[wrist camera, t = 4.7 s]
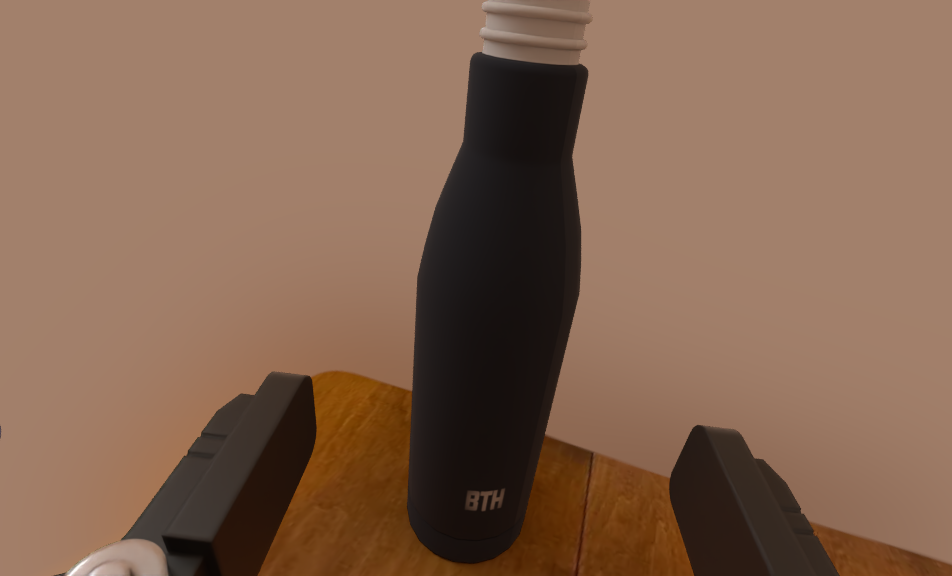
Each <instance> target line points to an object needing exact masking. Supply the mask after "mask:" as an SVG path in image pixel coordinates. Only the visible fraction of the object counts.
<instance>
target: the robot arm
mask: <svg viewBox="0 0 952 576" xmlns="http://www.w3.org/2000/svg"><path fill="white" fill-rule="evenodd" d="M315 439H316V417H315V406H314V395H313V385H312V379H311V377H310V376H307V375H299V374H291V373H283V372H271V373H270V374H269V375H268V376H267V377H266V379H265V380H264V382H263V383H262V385H261V386H260V388H259V389H258V391H257V392H256V394H255V395H249V394H240V395H238V396H237V397H236V398H234V399H233V400H232V401H230V402H229V403H227V404H226V405H225V406H223V407H222V408H221V409H219V410H218V411H217V412H216V413H215V415H214V416H213V417H212V419H211V420H210V421H209V423H208V424H207V426H206V427H205V428H204V430H203V431H202V433H201V437H198V438H197V439H196V441H195V442H194V443H193V445H192V446H191V448H190V449H189V450H188V454H187V456H184V457H183V458H182V460H181V461H180V463H179V464H178V465H177V467H176V468H175V469H174V471H173V472H172V473H171V475H170V476H169V477H168V479H167V480H166V481H165V483H164V484H163V486H162V487H161V488H160V490H159V491H158V492H157V494H156V495H155V496H154V498H153V499H152V501H151V502H150V503H149V505H148V506H147V507H146V509H145V510H144V512H143V513H142V514H141V516H140V517H139V518H138V520H137V521H136V522H135V524H134V525H133V527H132V528H131V529H130V530H129V531H128V533H127V534H126V535H125V536H124V537H123V538H122V539H121V540H120V541H118V542H114V543H112V544H109V545H106V546H104V547H102V548H99V549H97V550H96V551H94V552H92V553H90V554H89V555H87V556H86V557H84V558H83V559H82V560H80V561H79V562H78V563H76V564H75V565H74V566H73V567H72V568H71V569H70V570H69V571H68V572H66V573H63V574H59V575H55V576H257V575H258V573H259V571H260V568H261V566H262V564H263V562H264V560H265V557H266V555H267V553H268V551H269V548H270V546H271V544H272V542H273V540H274V537H275V535H276V533H277V531H278V528H279V526H280V524H281V522H282V520H283V517H284V515H285V513H286V511H287V508H288V506H289V504H290V502H291V500H292V497H293V495H294V493H295V491H296V488H297V486H298V484H299V482H300V480H301V477H302V475H303V473H304V471H305V468H306V466H307V464H308V462H309V460H310V457H311V455H312V452H313V448H314V444H315ZM669 490H670V499H671V504H672V507H673V510H674V513H675V516H676V520H677V523H678V526H679V529H680V532H681V535H682V538H683V541H684V544H685V548H686V551H687V554H688V557H689V560H690V563H691V566H692V569H693V573H694V576H839V574H838V572H837V570H836V569H835V567H834V565H833V563H832V562H831V560H830V558H829V556H828V555H827V553H826V551H825V550H824V548H823V546H822V544H821V543H820V541H819V539H818V537H817V536H814V534H813V531H814V530H813V529H812V527H811V525H810V524H809V522H808V520H807V518H806V517H805V515H804V514H801V511H800V510H801V508H800V506H799V504H798V503H797V501H796V499H795V498H794V496H793V494H792V492H791V491H790V489H789V487H788V485H787V484H786V482H785V481H784V480H783V479H782V478H780V476H779V475H778V474H777V473H776V472H775V471H774V470H773V469H772V468H771V467H770V466H769V465H768V464H767V463H766V462H765V461H764V460H762V459H755V458H754V457H753V455H752V454H751V452H750V450H749V448H748V446H747V444H746V443H745V441H744V439H743V437H742V435H741V434H740V433H739V432H738V431H736V430H734V429H725V428H717V427H710V426H701V425H697V426H695V427H694V428H693V429H692V431H691V432H690V435H689V437H688V439H687V441H686V443H685V445H684V447H683V450H682V452H681V454H680V456H679V458H678V460H677V462H676V465H675V467H674V469H673V471H672V474H671V477H670V487H669Z"/></svg>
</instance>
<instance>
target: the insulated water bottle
mask: <svg viewBox="0 0 952 576" xmlns="http://www.w3.org/2000/svg"><path fill="white" fill-rule="evenodd" d="M589 4H590V0H488V1H486V2H484V3H483V4H482V9H483V11H485V12H487V17H486V27H485V28H482V29H481V30H480V36H481V37H482V38H484V47H483V51H482V52H477V53H475V54H474V55H473V56H472V58H471V61H470V71H469V81H468V93H467V105H466V116H465V128H464V140H463V143H462V146H461V148H460V150H459V153H458V155H457V157H456V160H455V162H454V164H453V167H452V169H451V171H450V174H449V176H448V178H447V181H446V183H445V185H444V188H443V190H442V193H441V195H440V198H439V200H438V202H437V205H436V207H435V211H434V215H433V218H432V222H431V225H430V229H429V232H428V236H427V239H426V243H425V247H424V251H423V256H422V259H421V264H420V268H419V273H418V278H417V299H416V322H415V344H414V367H413V390H412V412H411V434H410V457H409V479H408V502H407V509H408V514H409V519H410V525H411V526H412V528H413V530H414V532H415V533H416V535H417V537H418V538H419V540H420V541H421V542H422V543H423V544H424V545H425V546H427V547H428V548H429V549H430V550H431V551H432V552H433V553H435V554H437V555H439V556H442V557H444V558H446V559H449V560H451V561H454V562H466V563H476V562H480V561H484V560H489V559H493V558H494V557H496V556H498V555H499V554H501V553H502V552H504V551H505V550H507V549H508V548H509V547H510V546H511V545H512V543H513V542H514V541H515V539H516V538H517V537H518V535H519V534H520V531H521V527H522V524H523V520H524V517H525V513H526V509H527V505H528V501H529V496H530V492H531V488H532V484H533V480H534V476H535V472H536V468H537V464H538V460H539V456H540V452H541V448H542V443H543V439H544V435H545V431H546V427H547V423H548V419H549V415H550V411H551V407H552V403H553V398H554V395H555V390H556V386H557V382H558V378H559V374H560V369H561V366H562V362H563V358H564V353H565V350H566V345H567V341H568V337H569V333H570V329H571V325H572V320H573V317H574V313H575V309H576V305H577V300H578V297H579V289H580V272H581V225H580V216H579V208H578V199H577V191H576V183H575V176H574V168H573V161H572V154H573V148H574V143H575V138H576V133H577V129H578V124H579V119H580V113H581V109H582V103H583V99H584V94H585V89H586V84H587V79H588V70H587V68H586V67H585V66H583V65H582V64H579V57H580V51H581V50H583V49H585V48H586V47H587V41H586V40H584V39H583V36H584V30H585V25H586V24H589V23H590V22H591V21H592V15H591V14H589V13H588V9H589Z"/></svg>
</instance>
